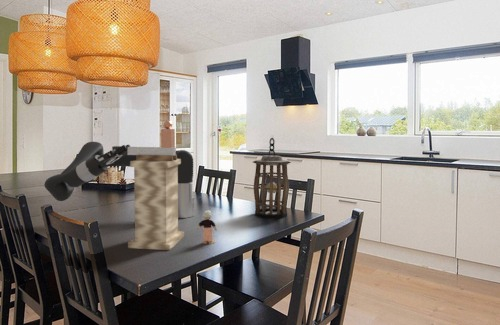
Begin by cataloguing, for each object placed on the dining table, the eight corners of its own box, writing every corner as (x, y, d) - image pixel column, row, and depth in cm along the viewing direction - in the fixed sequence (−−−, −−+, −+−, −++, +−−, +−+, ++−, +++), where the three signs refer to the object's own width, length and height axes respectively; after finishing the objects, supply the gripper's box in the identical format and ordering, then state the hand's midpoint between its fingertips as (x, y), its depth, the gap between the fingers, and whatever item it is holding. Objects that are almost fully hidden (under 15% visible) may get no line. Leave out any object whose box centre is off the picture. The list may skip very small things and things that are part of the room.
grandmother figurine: (217, 241, 148) (217, 209, 147) (216, 244, 145) (216, 211, 143) (197, 241, 148) (197, 209, 147) (196, 244, 144) (196, 211, 143)
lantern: (297, 215, 195) (298, 138, 191) (271, 221, 182) (272, 138, 178) (270, 209, 209) (271, 137, 205) (244, 214, 196) (245, 137, 192)
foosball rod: (111, 154, 144) (111, 119, 142) (116, 154, 148) (116, 120, 146) (172, 156, 141) (172, 120, 140) (176, 155, 145) (175, 120, 144)
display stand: (127, 247, 139) (126, 156, 136) (146, 234, 156) (145, 152, 153) (169, 250, 137) (169, 156, 134) (184, 236, 155) (183, 153, 152)
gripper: (105, 174, 154) (140, 154, 152) (86, 179, 140) (124, 156, 138) (96, 158, 154) (130, 137, 152) (76, 161, 140) (114, 138, 138)
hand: (127, 146), depth 145 cm, fingers closed on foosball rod, 3 cm apart
